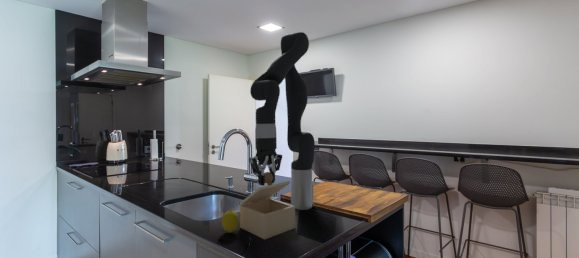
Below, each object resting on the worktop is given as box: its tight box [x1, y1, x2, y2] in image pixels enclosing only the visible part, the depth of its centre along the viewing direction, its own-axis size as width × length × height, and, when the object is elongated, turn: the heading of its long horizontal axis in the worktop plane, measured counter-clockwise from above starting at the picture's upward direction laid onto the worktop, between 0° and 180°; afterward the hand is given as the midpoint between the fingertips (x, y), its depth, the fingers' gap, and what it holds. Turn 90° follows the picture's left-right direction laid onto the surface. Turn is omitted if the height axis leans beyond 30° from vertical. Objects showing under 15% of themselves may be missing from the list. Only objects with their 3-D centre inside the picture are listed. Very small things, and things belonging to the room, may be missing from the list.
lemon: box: [221, 209, 240, 234], centre depth 100 cm, size 6×6×8 cm
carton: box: [239, 197, 296, 240], centre depth 104 cm, size 14×14×8 cm
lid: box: [238, 171, 291, 206], centre depth 106 cm, size 14×14×6 cm
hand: (266, 183), depth 104 cm, fingers closed on lid, 4 cm apart
